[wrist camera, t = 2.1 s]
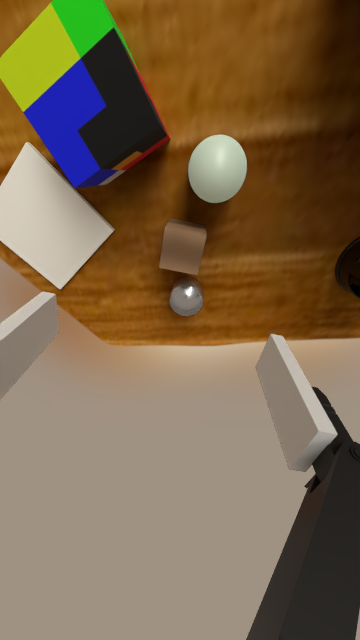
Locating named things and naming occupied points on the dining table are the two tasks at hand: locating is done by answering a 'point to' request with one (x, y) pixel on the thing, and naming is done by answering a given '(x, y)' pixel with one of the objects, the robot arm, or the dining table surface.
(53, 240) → the plate
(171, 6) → the dining table surface
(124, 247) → the dining table surface
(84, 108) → the puzzle toy
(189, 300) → the grey tin
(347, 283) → the french press
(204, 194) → the pale green egg
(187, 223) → the walnut block
